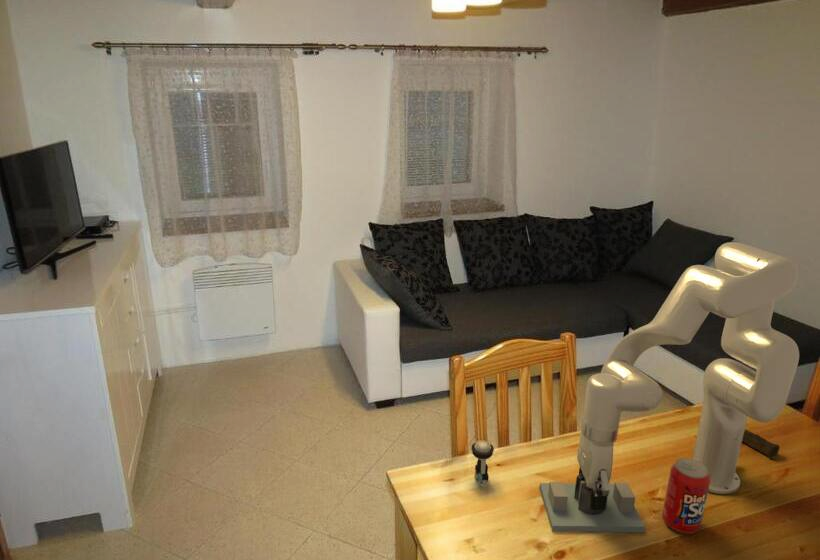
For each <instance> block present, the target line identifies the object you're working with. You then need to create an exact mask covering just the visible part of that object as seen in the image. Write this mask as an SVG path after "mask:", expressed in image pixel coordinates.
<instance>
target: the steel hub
mask: <svg viewBox="0 0 820 560" xmlns="http://www.w3.org/2000/svg"><path fill="white" fill-rule="evenodd" d="M597 480H598V481H600V478H598V479H597ZM581 481H586V480H585V478H584V475H583V473H580V474H579V473H578V474H577V476H576V479H575V483H576V486H575V494H574V498H575V499H577V500H578V498H579V490H580V482H581ZM601 488H602V485H601V484H600V485H599V489H597V491H598V490H601ZM592 493H593V489H592V488H589V487H587V486H585V485H583V486H582V487H581V491H580V499H579V507H578V509H579V510H580V511H582V512H584V513H586V514H591V515H597V514H602V513H603V512H604V511H605V510H606V507H605V509H604V510H591V508H590V503H591V495H592ZM607 498H608V497H607ZM606 505H607V500H606Z"/></svg>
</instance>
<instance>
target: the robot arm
mask: <svg viewBox="0 0 820 560" xmlns="http://www.w3.org/2000/svg"><path fill="white" fill-rule="evenodd" d="M715 251H716V252H715V256H714V263H715V264H714V265H715V268H714V267H711V266H707V265H703V264H695V265H691V266H689V267H687V268H686V269H685V270H684V272H683V273H681V276H680V277H679V278H678V280H677V282H676V283H675V285H674V286H673V288H672V289H671V290H670V293H669V294H668V296H667V297H666V299H665V300H664V302H663V304H662V305H661V307H660V308H659V310H658V312H657V313H656V315H655V316H654V317H653V319H652V320H651V321H650V322H649V323H648V324H645V325H643V326H640V327H638V328H637V329H634V330H633V331H631V332H629V333H628V334H626V335H625V336H624V337H622V338H621V339H620V340H619V341H618V342H617V343H616V344H615V346H613V348H612V350H611V351H610V352H609V355H608V357H606V360H605V362H604V364H603V366H602V368H601V371H600V373H594V374H593V375H591V376H590V377H589V378H587V379H588V380H587V382H586V389H585V398H584V407H583V416H582V421H581V422H582V423H581V430H580V436H579V443H578V448H577V456H576V459H577V463H578V467H579V469H578V475H579V474H580V473H583V475H584V478H585V480H586V481H587V483H589V484H593V493H592V495H591V503H590V508H591V510H604V509H605V507H606V500H607V497H608V493H609V491H610V487H609V484H610V482H611V478H612V471H613V461H614V459H613V458H614V443H616V442H617V440H618V435H619V429H620V427H619V426H620V421H621V414H622V412H625V413H627V412H628V413H629V412H631V413H635V412H636V413H643V412H645V413H646V412H649V411H652V410H654V409H656V408H657V407H659V406H660V404H661V403H662V400H663V398H664V393H663V390H662V388H661V385H659V384H658V382H656V381H655V380H654V379H652V378H651V377H649V376H648V375H647V374H646V373H644V372H643V371H641V370H640V369H638V368H637V367H636V366H634V364H635V363H636V362H637V359H638V358H640V356H641V355H642V354H644V352H646V351H647V350H650V348H654V347H656V346H662V345H677V346H678V345H679V346H682V345H683V346H684V345H688V344H690V343H691V341H692V340H693V338H694V336H695V335H696V334H697V332H698V331H699V329H700V328H701V325H702V324H703V323H704V321H705V320H706V319H707V317H708V315H709V314H710V313H712V314H714V315H717V316H719V317H721V318H724V319H725V321H724V326H723V330H722V335H721V338H720V339H721V340H720V346H721V348H722V350H723V351H724V352H725V353H726V354H727V355H729V356H730V357H732V358H734V359H735V360H734V359H731V358H717V359H715V360H713V361H712V362H710V363H709V364H708V365H707V367H706V368H705V371H704V373H703V378H702V379H703V380H702V381H703V383H702V384H703V385H702V387H703V401H702V409H701V412H700V413H701V414H700V419H699V424H698V429H697V435H696V437H695V438H696V440H695V443H694V447H693V448H694V449H693V454H692V458H691V459H693V460H696V461H699V462H700V463H702V464H704V465H705V466H706V467H707V469H708V474H709V475H710V485H709V490H708V493H714V494H719V495H727V494H728V495H729V494H732V493H735V492H737V491H738V490H739V489H740V486H741V479H740V477H739V475H738V474H737V472H736V470H737V465H738V461H739V456H740V452H741V448H742V444H743V442H742V440H743V435H744V431H745V429H746V428H747V427H746V426H747V417H748V418H750V419H752V420H753V421H756V422H759V423H769V422H772V421H774V420H775V419H776V418H777V417H779V416H780V415H781V413H782V411H784V408H785V405H786V403H787V400H788V398H789V394H790V391H791V387H792V384H793V382H794V378H795V375H796V373H797V368H798V365H799V360H800V350H799V347H798V344H797V343H796V341H795V340H794V339H793V338H791V336H788V335H787V334H785V333H782V332H781V331H778V330H776V329H774V328H772V325H771V324H772V317H773V314H774V309H775V302H776V301H778V300H780V299H781V298H783V297H785V296H786V295H787V294H789V293H790V292H791V291H792V290H793V289H794V288H795V286H796V284H797V281H798V280H799V270H798V267H797V265H796V263H794V262H793V260H791V259H790V258H787V257H785V256H782V255H779V254H776V253H773V252H769V251H765V250H763V249H761V248H758V247H755V246H752V245H749V244H745V243H742V242H734V241H732V242H731V241H730V242H725V243H723V244H721V245H720V246H719V247H718V248H717V249H716V250H715ZM598 478H600V481H596V480H597V479H598ZM597 484H601V485H602V488H601V490H598V491H597Z"/></svg>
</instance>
